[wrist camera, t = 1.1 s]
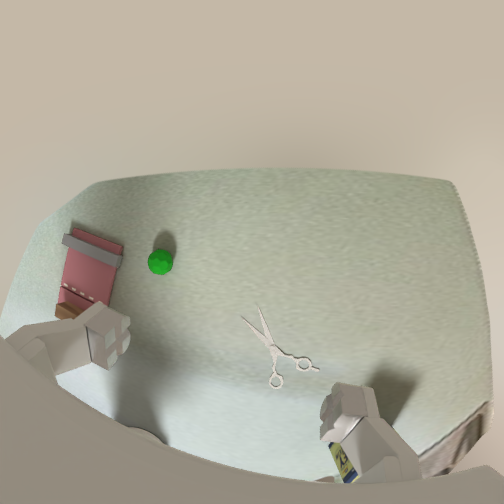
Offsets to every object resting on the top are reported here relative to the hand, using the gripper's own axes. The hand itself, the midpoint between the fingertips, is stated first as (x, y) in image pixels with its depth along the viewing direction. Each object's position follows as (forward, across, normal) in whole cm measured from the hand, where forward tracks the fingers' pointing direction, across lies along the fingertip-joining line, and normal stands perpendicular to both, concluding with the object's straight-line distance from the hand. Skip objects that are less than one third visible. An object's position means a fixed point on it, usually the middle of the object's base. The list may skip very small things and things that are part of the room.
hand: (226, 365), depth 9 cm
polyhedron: (+39, -20, -17) cm, 47 cm away
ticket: (+35, -38, -22) cm, 56 cm away
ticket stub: (+31, -38, -33) cm, 59 cm away
